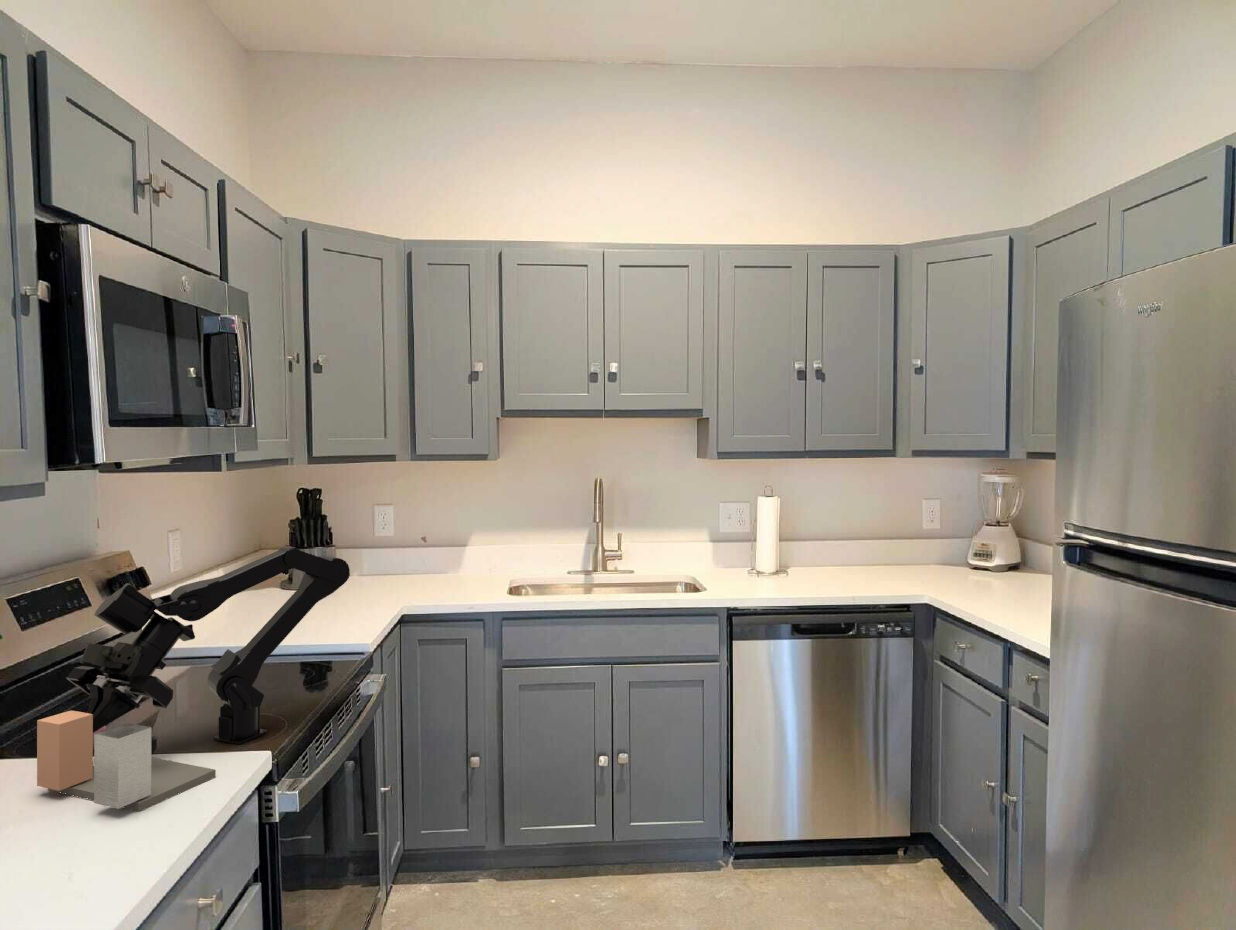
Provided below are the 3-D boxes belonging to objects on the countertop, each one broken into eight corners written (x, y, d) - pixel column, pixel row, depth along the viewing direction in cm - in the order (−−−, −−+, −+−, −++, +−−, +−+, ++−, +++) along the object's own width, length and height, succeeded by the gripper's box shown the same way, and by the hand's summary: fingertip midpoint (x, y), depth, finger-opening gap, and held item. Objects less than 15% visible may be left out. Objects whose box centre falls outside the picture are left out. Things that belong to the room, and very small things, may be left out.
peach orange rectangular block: (70, 773, 119) (71, 710, 119) (92, 777, 117) (92, 714, 117) (36, 785, 114) (37, 720, 114) (58, 790, 113) (59, 724, 113)
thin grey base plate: (128, 759, 128) (128, 752, 128) (215, 776, 121) (215, 769, 121) (47, 790, 116) (47, 782, 116) (139, 811, 109) (139, 803, 109)
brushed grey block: (127, 789, 113) (127, 723, 113) (151, 794, 112) (151, 727, 112) (94, 803, 109) (94, 734, 109) (118, 808, 107) (118, 738, 107)
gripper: (78, 618, 127) (5, 702, 116) (157, 626, 120) (86, 717, 110) (123, 654, 134) (58, 736, 124) (200, 664, 127) (138, 751, 117)
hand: (83, 734), depth 118 cm, fingers closed, pressing on peach orange rectangular block
